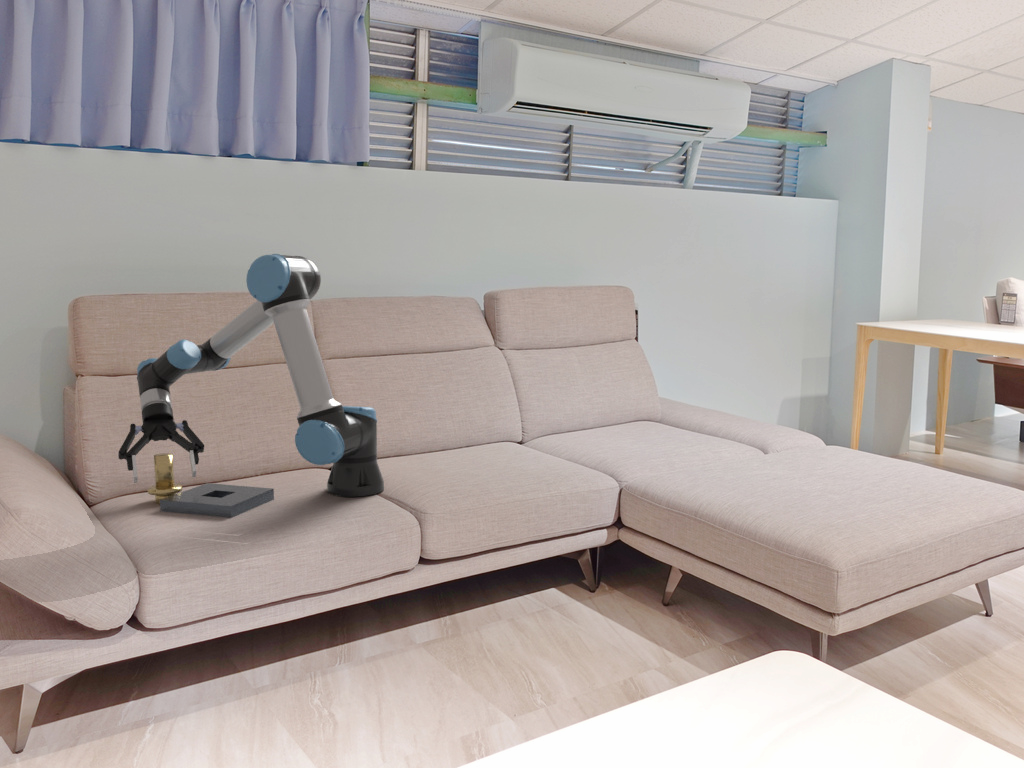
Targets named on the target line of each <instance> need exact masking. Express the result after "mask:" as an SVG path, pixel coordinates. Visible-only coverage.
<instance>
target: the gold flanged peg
mask: <svg viewBox="0 0 1024 768" xmlns="http://www.w3.org/2000/svg"><path fill="white" fill-rule="evenodd" d="M153 464H154V481H155V482H154V483H155V485H152V486H150V487H148V488H147V494H148V495H151V496H155V497H154V499H155V503H156V504H159V505H160V500H161V499H164V498H166V497H169V496H172V495H175V494H178V493H181V492H183V485H181V484H179V483H175V474H174V473H175V472H174V470H175V469H174V454H173V453H171V452H170V453H169V452H167V453H166V452H165V453H156V454H154V455H153Z"/></svg>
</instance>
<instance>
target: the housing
mask: <svg viewBox="0 0 1024 768" xmlns="http://www.w3.org/2000/svg"><path fill="white" fill-rule="evenodd" d="M274 489H275V488H273V487H272V488H271V487H260V486H259V487H258V486H247V485H246V486H245V485H235V484H222V483H209V482H207V483H204V484H202V485H201V484H200V485H198V486H194V487H192V488H190V489H187V490H182V491H181V492H178V493H176V494H175V495H172V496H169V497H166V498H164V499H161V500H160V504H159V509H160V510H159V511H160V512H162V513H163V512H164V513H165V512H166V513H174V514H185V515H186V514H187V515H197V516H206V517H208V516H209V517H219V518H228V519H232V518H234V517H237V516H239V515H241V514H243V513H246V512H248V511H251V510H253V509H255V508H258V507H259V506H260V507H261V506H262V505H264V504H266V503H269V502H272V501H274V500H275V491H274Z"/></svg>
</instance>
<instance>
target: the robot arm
mask: <svg viewBox="0 0 1024 768" xmlns="http://www.w3.org/2000/svg"><path fill="white" fill-rule="evenodd" d="M321 278H322V277H321V272H320V270H319V268H318V267H317V265H316V264H315V263H314V262H313V261H312V260H310V259H309V258H307V257H304V256H301V255H287V254H278V253H272V254H265V255H260V256H258V257H257V258H256V259H254V261H253V262H252V263H251V265H250V266H249V269H247V273H246V281H245V282H246V287H247V290H248V292H249V294H250V295H251V297H252V298H254V299H255V300H256V301H254V302H252V304H250V305H249V306H248V307H247V308H246V309H244V310H243V311H242V312H241V313H239V314H238V315H236V317H234V318H233V319H232V320H231V321H230V322H228V323H227V324H226V325H225V326H223V327H222V328H221V329H220V330H218V331H216V333H215V334H214V335H213V336H211V337H210V338H209V339H208V340H206V341H205V342H203V343H201V344H195V343H194V342H193V341H189V340H188V339H179V340H178V341H177V342H175V343H174V344H171V346H170V347H169V348H168V349H167V350H165V352H164V353H162V354H161V355H160V356H159V357H158V358H155V357H150V358H148V359H145V360H144V359H143V360H142V361H141V362H139V363H138V365H137V367H136V380H137V384H138V385H137V386H138V387H137V388H138V391H139V392H138V393H139V401H140V402H139V403H140V410H141V419H142V420H141V421H142V425H136V424H135V423H130V427H129V432H128V433H127V436H126V438H124V441H123V443H122V444H121V447H120V448H119V450H118V456H117V457H118V459H119V460H125V461H126V466H127V470H128V471H132V476H133V477H132V478H133V483H134V484H138V479H139V477H138V469H137V459H136V455H138V454H139V452H140V451H141V450H142V449H143V448H144V447H145V446H146V445H147V444H149V443H150V442H151V441H153V442H157V441H167V440H170V441H171V442H174V443H175V444H177V445H178V446H180V447H181V448H182V449H184V450H185V451H186V452H188V453H189V463H190V469H191V470H190V471H191V477H192V478H196V476H197V475H196V474H197V466H196V465H199V462H200V458H199V457H200V456H199V453H200V454H201V453H204V450H205V444H204V443H203V442H202V440H201V439H200V438H199V437H198V435H196V433H195V432H194V431H193V430H192V429H191V428H190V427H189V423H188V420H186V419H184V420H182V421H181V422H178V423H177V422H175V419H174V411H173V408H172V407H173V405H172V397H171V392H170V387H171V386H173V385H174V383H176V382H177V381H178V380H179V379H180V378H182V377H183V376H185V375H189V374H196V373H202V372H212V371H214V372H215V371H218V370H222V369H224V368H226V367H228V365H229V364H230V360H231V357H233V356H234V355H235V354H236V353H238V352H239V351H241V350H242V349H243V348H244V347H245V346H247V345H248V344H250V343H251V342H252V341H253V340H254V339H256V338H257V337H258V336H259V335H261V334H262V333H263V332H265V331H266V330H268V328H270V327H271V326H272V325H274V326H275V330H276V333H277V336H278V340H279V343H280V346H281V349H282V353H283V357H284V358H285V359H284V360H285V362H286V366H287V369H288V372H289V376H290V380H291V382H292V386H293V389H294V392H295V395H296V399H297V401H298V404H299V412H298V414H297V415H296V419H297V423H298V428H297V429H296V434H295V436H294V443H295V447H296V450H297V452H298V453H299V454H300V456H301V457H302V458H303V459H304V460H305V461H307V462H309V463H311V464H312V465H316V466H325V465H330V464H332V466H331V470H330V472H329V477H328V479H327V481H326V491H327V493H328V494H329V493H330V494H329V495H331V494H333V495H332V496H335V495H337V497H343V496H344V498H345V497H348V498H349V497H350V498H353V497H354V498H355V497H357V498H358V497H366V496H372V495H375V494H376V495H377V494H379V493H382V492H383V491H384V489H385V485H384V484H385V480H384V477H383V476H382V473H381V470H380V467H379V463H378V455H377V453H378V447H377V446H378V444H377V443H378V442H377V441H378V437H377V435H378V434H377V433H378V431H377V430H378V427H377V424H378V419H377V412H376V411H377V410H376V409H375V408H374V407H371V406H358V405H357V406H354V405H353V406H352V405H343V403H341V402H339V401H337V400H335V398H334V395H333V392H332V388H331V385H330V382H329V379H328V374H327V372H326V369H325V366H324V362H323V359H322V356H321V353H320V350H319V349H320V348H319V347H318V342H317V340H316V337H315V333H314V330H313V327H312V323H311V319H310V316H309V314H308V310H307V309H308V307H309V304H310V303H311V299H313V298H314V297H315V295H316V294H317V293H318V292H319V289H320V287H321V281H322V279H321ZM177 429H178V430H179V431H180V432H182V433H183V434H184V436H185V437H186V438H185V437H184V436H183V435H181V434H180V433H179V432H178V431H177ZM140 432H142V433H143V435H142V436H141V437H140V438H139V440H138V441H137V442H136V443H135V444H134V445H132V443H133V441H135V438H136V436H137V435H138V434H139V433H140ZM131 445H132V446H131ZM130 447H131V448H130Z"/></svg>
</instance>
